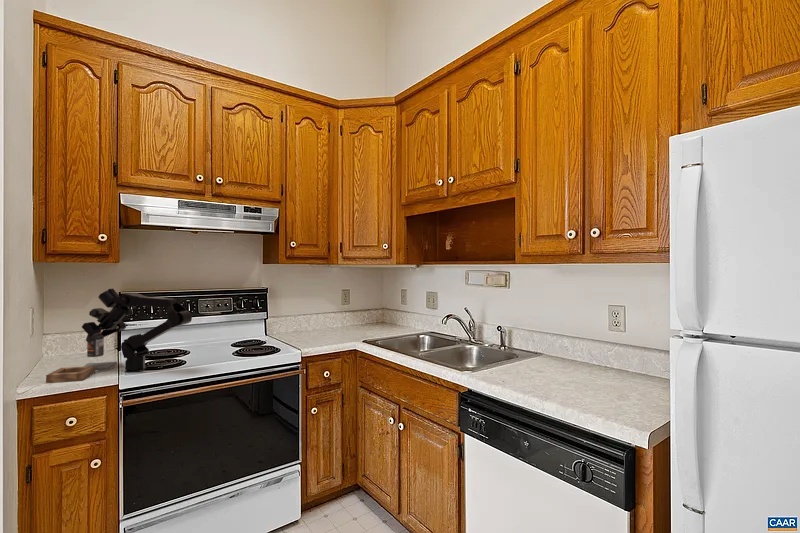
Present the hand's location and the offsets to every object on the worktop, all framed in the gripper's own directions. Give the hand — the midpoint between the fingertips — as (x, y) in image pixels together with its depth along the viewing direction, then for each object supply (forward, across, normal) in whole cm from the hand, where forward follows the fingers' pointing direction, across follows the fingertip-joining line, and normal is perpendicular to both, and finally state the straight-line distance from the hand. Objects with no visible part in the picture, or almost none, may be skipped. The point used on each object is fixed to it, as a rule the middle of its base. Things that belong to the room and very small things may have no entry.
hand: (92, 339), depth 183 cm
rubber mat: (+8, -2, +10) cm, 13 cm away
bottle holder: (+6, +15, +12) cm, 20 cm away
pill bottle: (+4, 0, +6) cm, 8 cm away
